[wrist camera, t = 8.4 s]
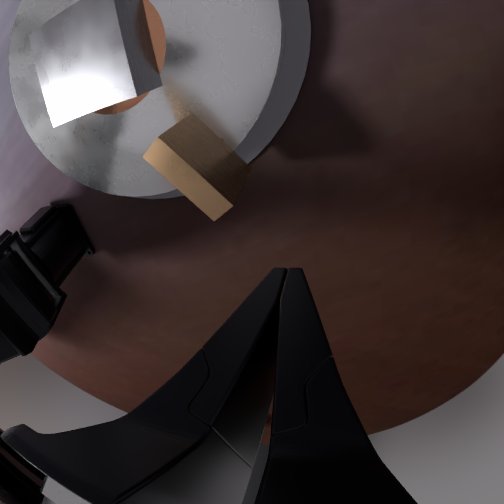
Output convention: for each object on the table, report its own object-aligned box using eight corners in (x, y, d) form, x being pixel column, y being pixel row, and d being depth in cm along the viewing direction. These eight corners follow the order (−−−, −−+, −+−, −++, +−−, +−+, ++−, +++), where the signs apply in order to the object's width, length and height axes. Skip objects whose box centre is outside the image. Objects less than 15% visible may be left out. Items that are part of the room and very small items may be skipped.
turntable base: (330, 184, 21) (331, 187, 20) (70, 209, 27) (67, 212, 27) (268, -135, 6) (267, -138, 5) (4, -3, 12) (0, -3, 12)
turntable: (307, 169, 20) (301, 223, 15) (70, 198, 26) (28, 239, 21) (247, -123, 6) (216, -168, 2) (9, 1, 12) (-47, 14, 7)
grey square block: (162, 85, 16) (136, 96, 13) (81, 112, 18) (53, 127, 15) (140, -14, 11) (110, -18, 9) (59, 29, 13) (28, 35, 11)
